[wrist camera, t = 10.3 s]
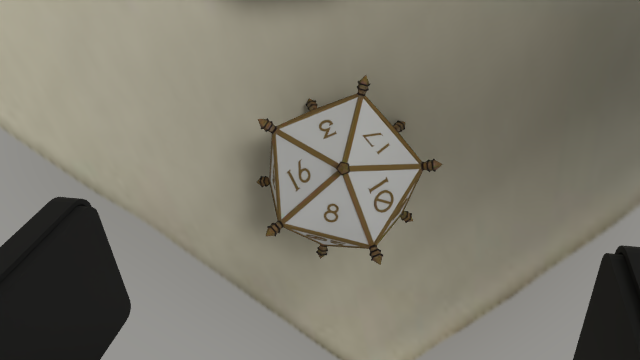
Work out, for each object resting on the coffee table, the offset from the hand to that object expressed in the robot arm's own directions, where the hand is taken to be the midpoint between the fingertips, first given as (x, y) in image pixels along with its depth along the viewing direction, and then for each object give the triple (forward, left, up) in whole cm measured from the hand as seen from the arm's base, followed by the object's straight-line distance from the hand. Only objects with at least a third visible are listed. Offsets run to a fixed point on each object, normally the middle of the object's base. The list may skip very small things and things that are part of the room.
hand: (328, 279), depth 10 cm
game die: (+1, +2, -16) cm, 16 cm away
